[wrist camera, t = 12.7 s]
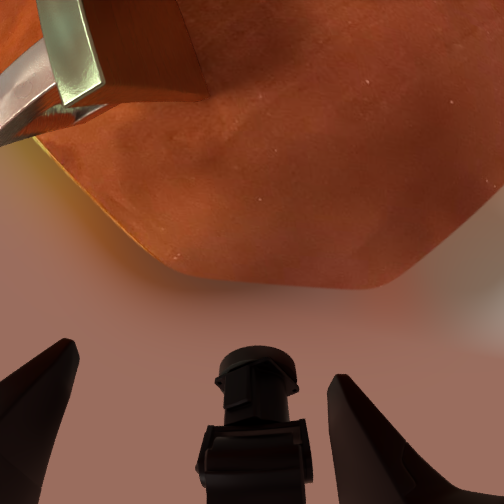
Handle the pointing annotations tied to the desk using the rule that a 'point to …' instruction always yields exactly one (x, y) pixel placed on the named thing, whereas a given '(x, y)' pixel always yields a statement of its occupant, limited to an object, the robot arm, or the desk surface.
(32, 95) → the door
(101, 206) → the desk surface
